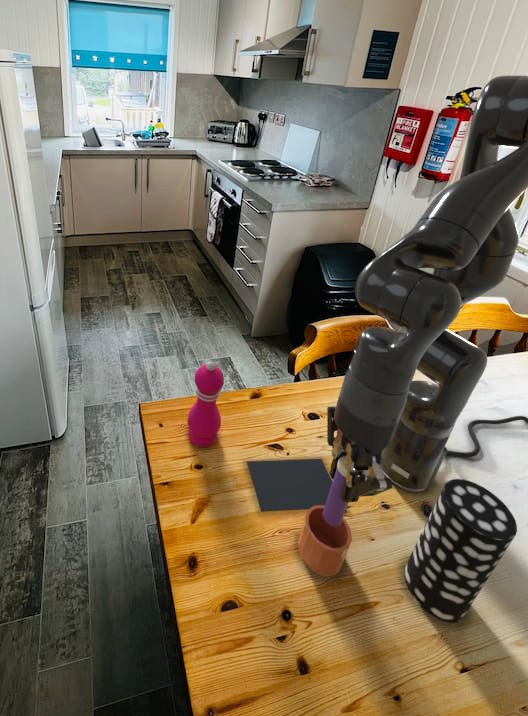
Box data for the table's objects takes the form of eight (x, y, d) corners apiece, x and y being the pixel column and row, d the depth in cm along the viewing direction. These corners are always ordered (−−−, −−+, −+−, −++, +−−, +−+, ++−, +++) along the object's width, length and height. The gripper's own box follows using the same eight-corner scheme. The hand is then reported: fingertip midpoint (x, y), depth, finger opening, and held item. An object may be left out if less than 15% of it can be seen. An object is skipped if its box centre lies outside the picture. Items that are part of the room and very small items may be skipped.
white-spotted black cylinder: (441, 635, 57) (493, 551, 49) (391, 573, 64) (430, 490, 56) (476, 608, 60) (530, 525, 52) (425, 551, 67) (466, 471, 59)
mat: (320, 460, 82) (321, 458, 82) (344, 508, 73) (344, 507, 73) (246, 463, 81) (246, 461, 81) (260, 513, 72) (261, 511, 72)
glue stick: (336, 507, 64) (353, 455, 59) (345, 527, 61) (364, 474, 56) (318, 508, 64) (334, 456, 59) (327, 528, 61) (344, 475, 56)
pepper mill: (217, 452, 83) (228, 378, 75) (183, 445, 84) (190, 371, 76) (220, 425, 89) (230, 354, 81) (188, 419, 90) (195, 348, 83)
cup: (329, 530, 70) (338, 504, 67) (349, 576, 63) (360, 550, 60) (291, 532, 69) (298, 506, 66) (307, 579, 63) (316, 552, 60)
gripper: (432, 445, 47) (393, 536, 54) (368, 365, 60) (342, 446, 66) (373, 448, 46) (340, 539, 53) (320, 366, 59) (300, 448, 66)
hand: (341, 487), depth 60 cm, fingers closed on glue stick, 3 cm apart
